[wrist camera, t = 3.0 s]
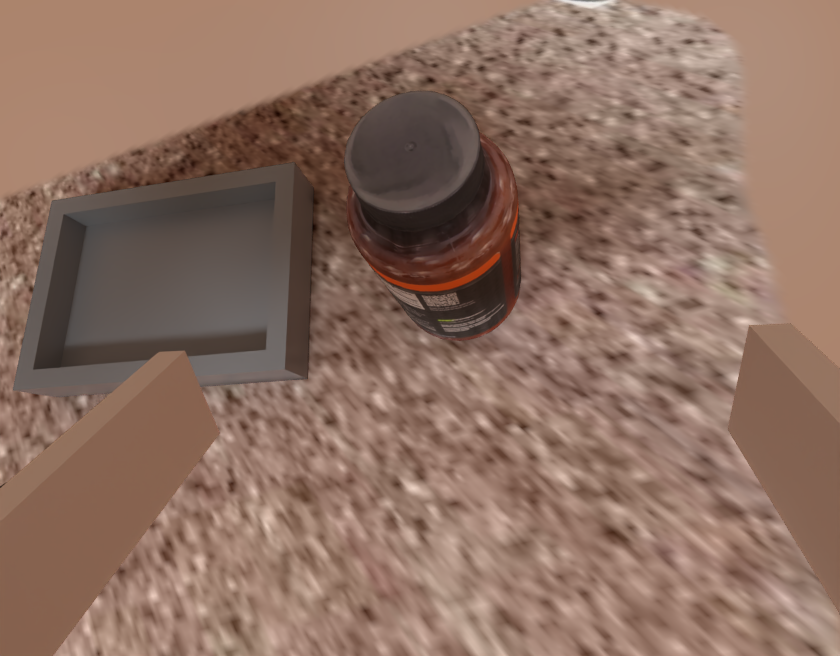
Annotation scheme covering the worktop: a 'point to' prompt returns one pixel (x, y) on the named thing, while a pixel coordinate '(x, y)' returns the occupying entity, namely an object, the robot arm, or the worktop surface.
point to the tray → (174, 283)
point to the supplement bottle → (435, 213)
